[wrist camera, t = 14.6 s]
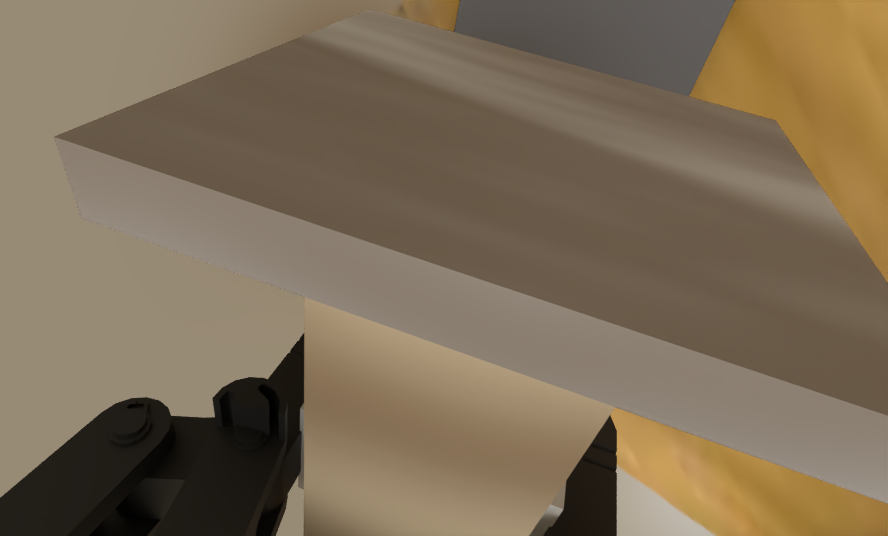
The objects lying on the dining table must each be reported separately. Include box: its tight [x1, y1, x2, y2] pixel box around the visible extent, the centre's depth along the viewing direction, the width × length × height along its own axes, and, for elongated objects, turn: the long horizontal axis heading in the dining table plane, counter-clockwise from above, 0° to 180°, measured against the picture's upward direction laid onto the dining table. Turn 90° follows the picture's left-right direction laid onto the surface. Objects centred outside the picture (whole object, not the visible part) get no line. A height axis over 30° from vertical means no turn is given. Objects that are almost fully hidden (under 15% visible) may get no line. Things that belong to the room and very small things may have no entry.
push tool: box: [54, 9, 888, 536], centre depth 13 cm, size 16×9×8 cm, turn 169°
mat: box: [454, 0, 735, 97], centre depth 29 cm, size 20×13×1 cm, turn 169°
